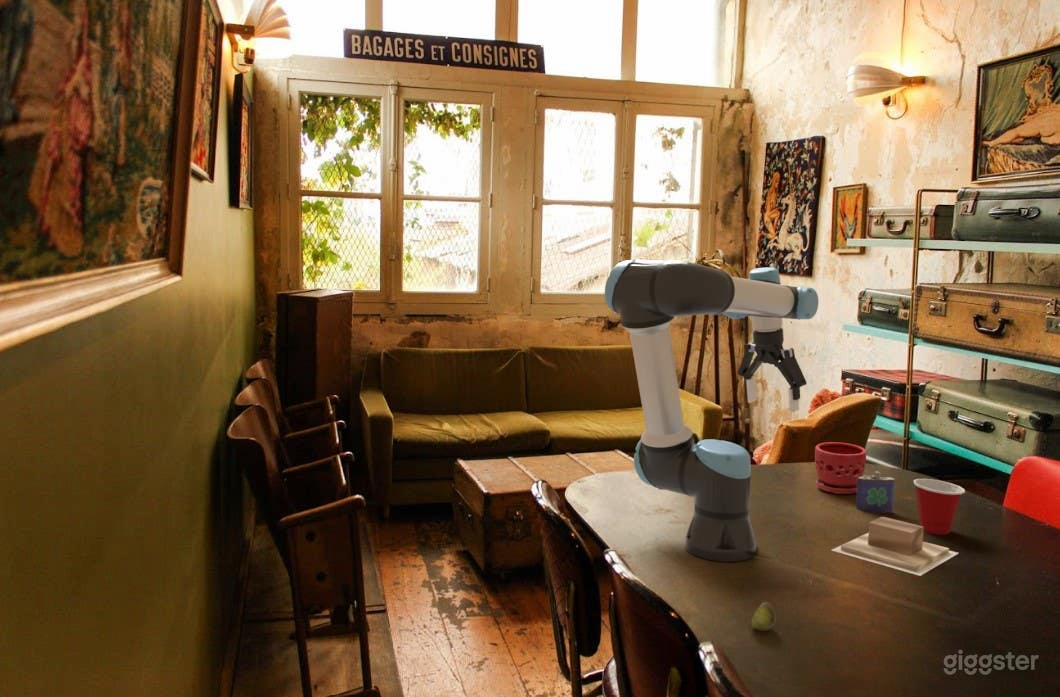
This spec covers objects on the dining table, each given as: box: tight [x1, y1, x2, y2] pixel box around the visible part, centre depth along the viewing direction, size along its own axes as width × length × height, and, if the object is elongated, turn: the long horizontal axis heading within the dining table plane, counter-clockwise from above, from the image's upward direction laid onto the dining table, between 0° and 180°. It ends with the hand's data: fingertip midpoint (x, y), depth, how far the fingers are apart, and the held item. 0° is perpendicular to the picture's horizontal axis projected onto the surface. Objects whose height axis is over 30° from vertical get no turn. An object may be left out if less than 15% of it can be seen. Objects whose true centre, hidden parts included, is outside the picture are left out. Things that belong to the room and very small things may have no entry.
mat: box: [831, 532, 959, 576], centre depth 179 cm, size 19×19×1 cm
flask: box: [855, 470, 896, 515], centre depth 208 cm, size 9×3×11 cm, turn 87°
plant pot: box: [814, 441, 867, 495], centre depth 228 cm, size 13×13×12 cm
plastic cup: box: [913, 478, 966, 536], centre depth 192 cm, size 11×11×12 cm
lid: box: [840, 516, 950, 572], centre depth 179 cm, size 16×16×6 cm
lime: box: [749, 601, 777, 632], centre depth 144 cm, size 4×5×5 cm
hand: (772, 406), depth 219 cm, fingers open, 13 cm apart
